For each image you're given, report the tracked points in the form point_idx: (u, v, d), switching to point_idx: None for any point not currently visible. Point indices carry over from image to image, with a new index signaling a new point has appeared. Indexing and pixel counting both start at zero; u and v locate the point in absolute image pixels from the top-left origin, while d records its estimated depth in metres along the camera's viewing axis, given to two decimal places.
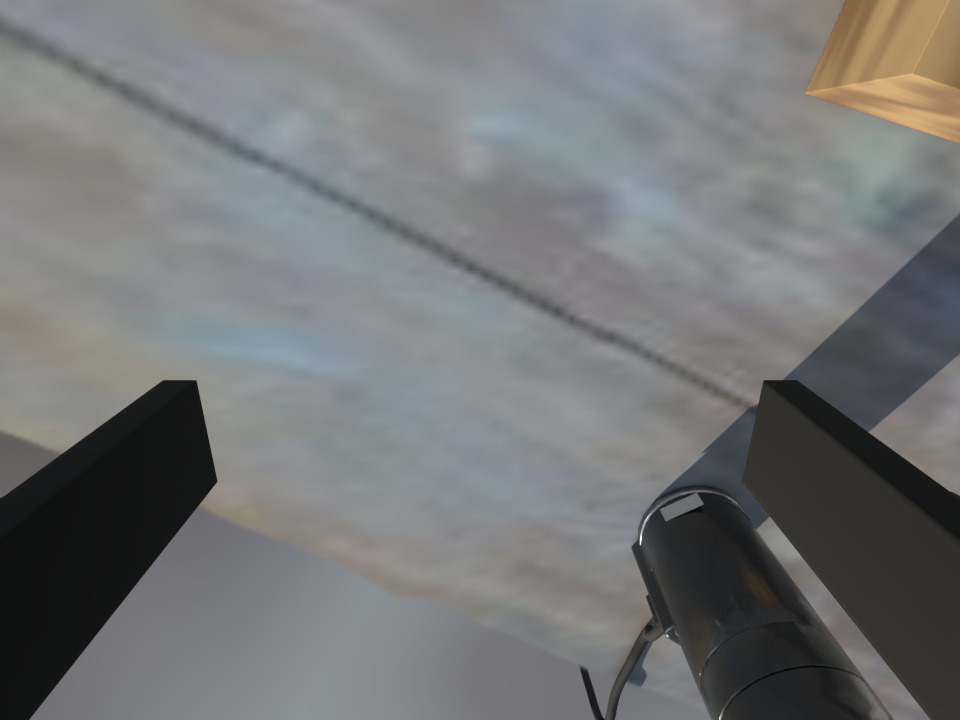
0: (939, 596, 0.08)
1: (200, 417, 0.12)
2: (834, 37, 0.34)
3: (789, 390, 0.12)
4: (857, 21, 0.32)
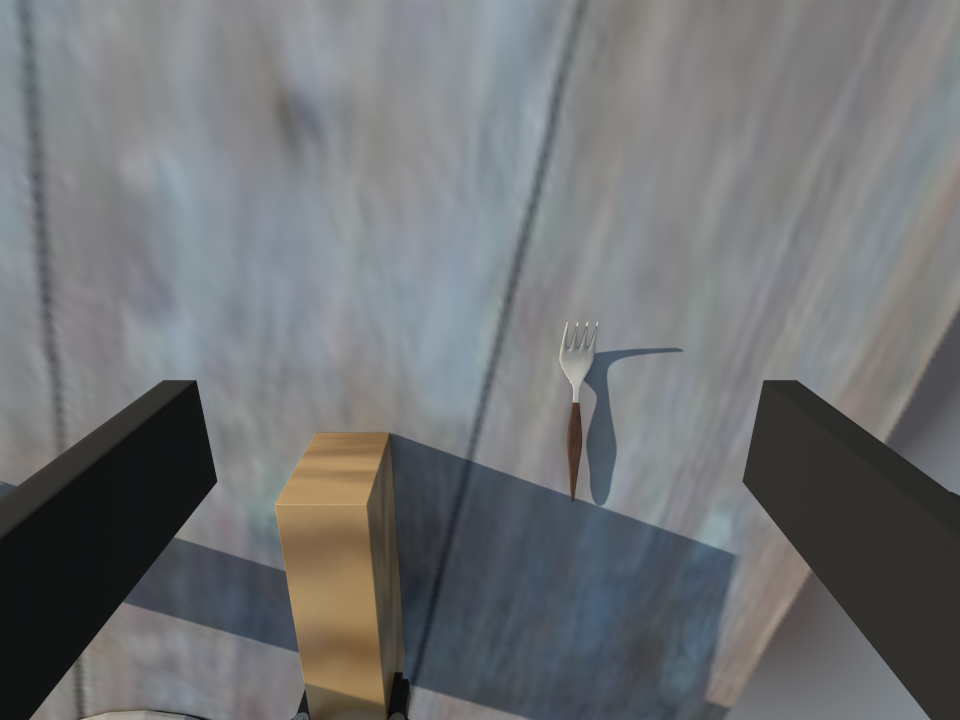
0: (939, 596, 0.08)
1: (200, 416, 0.12)
2: (354, 436, 0.43)
3: (789, 390, 0.12)
4: (356, 448, 0.41)
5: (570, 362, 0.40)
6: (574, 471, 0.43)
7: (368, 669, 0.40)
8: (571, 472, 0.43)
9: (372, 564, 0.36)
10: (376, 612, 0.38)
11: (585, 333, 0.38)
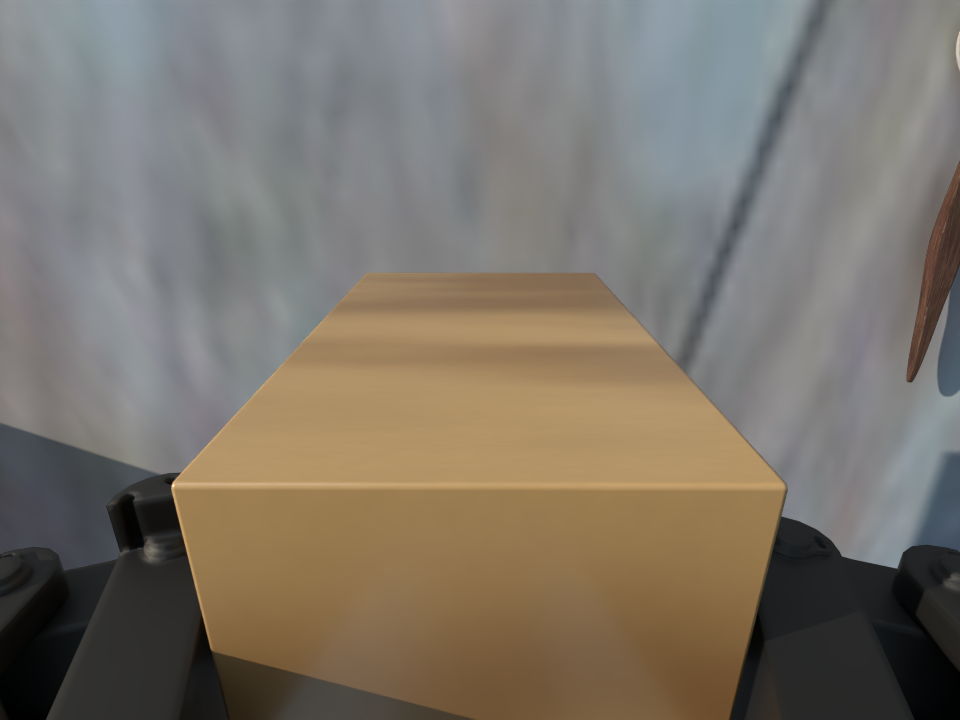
0: None
1: None
2: (490, 277, 0.13)
3: None
4: (516, 296, 0.12)
5: None
6: (934, 313, 0.21)
7: None
8: (927, 315, 0.21)
9: None
10: None
11: None
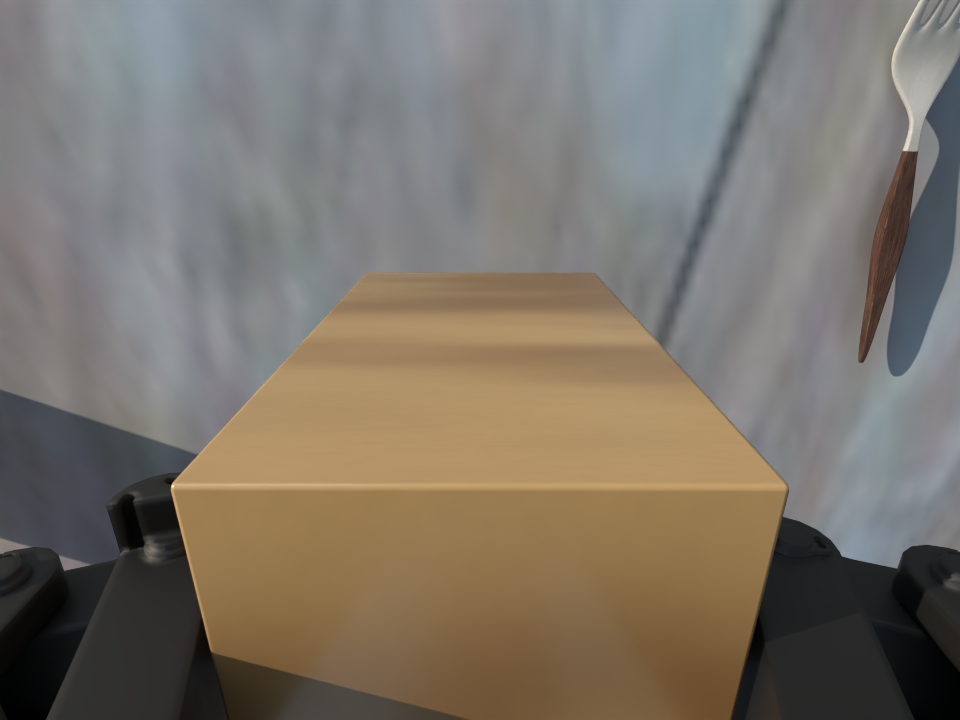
0: None
1: None
2: (490, 277, 0.13)
3: None
4: (516, 296, 0.12)
5: (913, 63, 0.21)
6: (880, 300, 0.24)
7: None
8: (873, 302, 0.24)
9: None
10: None
11: None
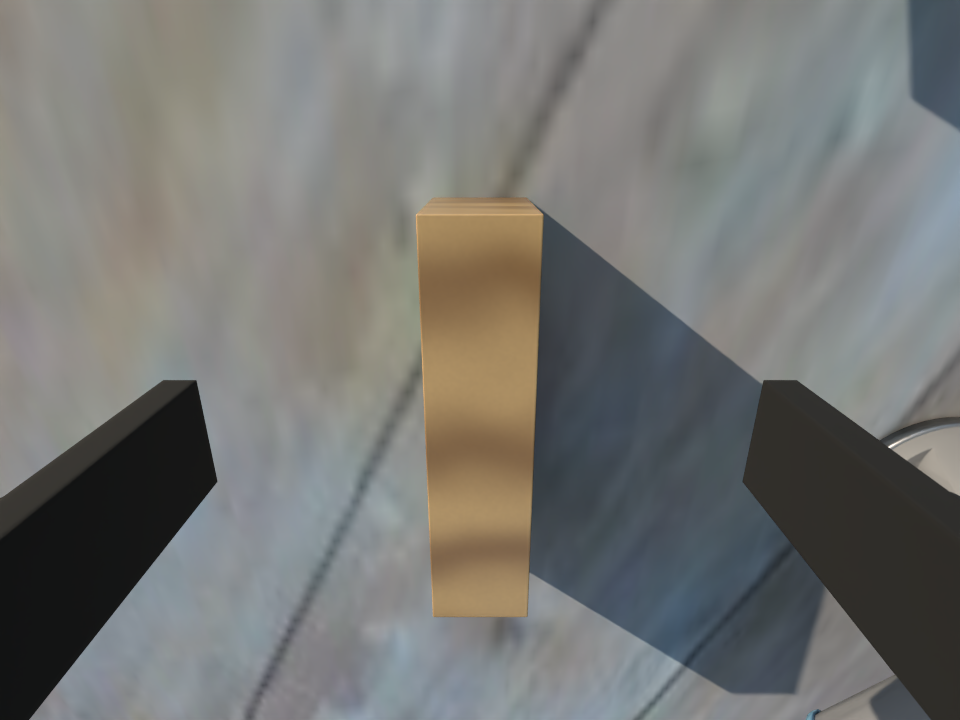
0: (939, 596, 0.08)
1: (200, 416, 0.12)
2: (484, 198, 0.33)
3: (789, 390, 0.12)
4: (493, 201, 0.31)
5: None
6: None
7: (515, 482, 0.30)
8: None
9: (538, 316, 0.27)
10: (535, 393, 0.28)
11: None
